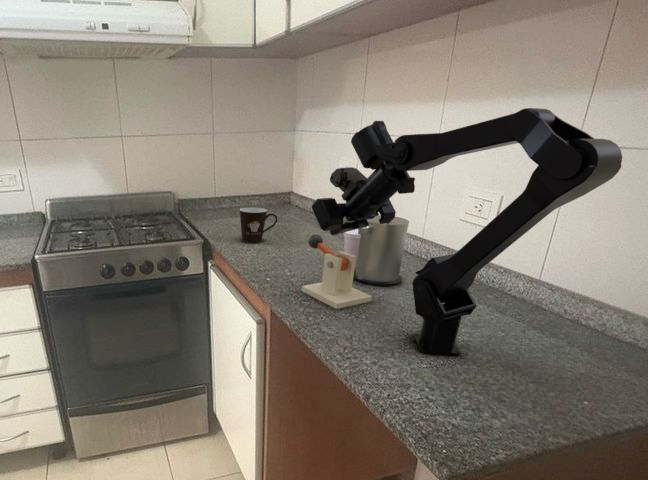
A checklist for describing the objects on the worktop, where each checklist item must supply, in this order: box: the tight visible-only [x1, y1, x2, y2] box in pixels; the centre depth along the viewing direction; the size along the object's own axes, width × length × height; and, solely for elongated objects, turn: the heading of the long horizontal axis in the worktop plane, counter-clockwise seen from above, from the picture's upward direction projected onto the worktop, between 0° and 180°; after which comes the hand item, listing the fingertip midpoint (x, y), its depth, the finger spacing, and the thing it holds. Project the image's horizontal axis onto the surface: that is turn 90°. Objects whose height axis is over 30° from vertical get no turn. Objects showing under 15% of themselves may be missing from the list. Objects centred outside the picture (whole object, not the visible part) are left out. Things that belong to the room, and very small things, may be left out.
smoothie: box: [342, 229, 361, 269], centre depth 117 cm, size 6×6×14 cm
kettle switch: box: [308, 234, 349, 271], centre depth 99 cm, size 12×3×3 cm, turn 28°
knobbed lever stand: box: [300, 251, 373, 310], centre depth 97 cm, size 12×10×10 cm
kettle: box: [353, 214, 410, 288], centre depth 107 cm, size 16×12×16 cm
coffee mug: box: [239, 207, 278, 244], centre depth 142 cm, size 12×9×10 cm
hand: (331, 233), depth 96 cm, fingers closed
